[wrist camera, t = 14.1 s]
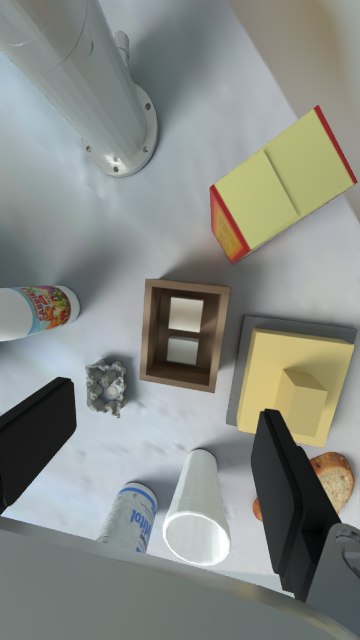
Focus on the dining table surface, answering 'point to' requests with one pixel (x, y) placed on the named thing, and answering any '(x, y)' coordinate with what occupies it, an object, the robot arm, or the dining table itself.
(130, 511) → the supplement tub
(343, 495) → the slice of bread
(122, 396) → the egg carton
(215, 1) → the dining table surface
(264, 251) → the dining table surface
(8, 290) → the milk bottle
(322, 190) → the baking soda box
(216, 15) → the dining table surface
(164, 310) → the box
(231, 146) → the dining table surface
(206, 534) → the cup
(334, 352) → the lid
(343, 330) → the mat
